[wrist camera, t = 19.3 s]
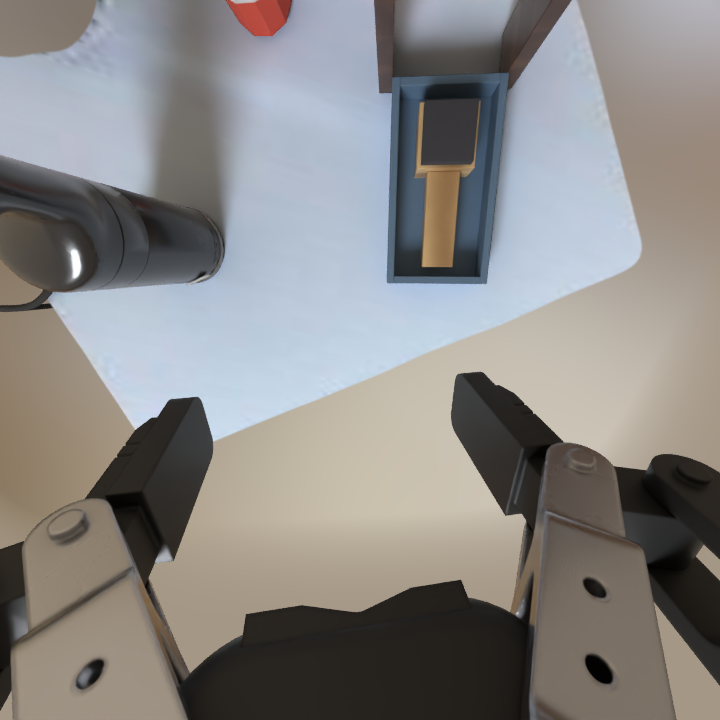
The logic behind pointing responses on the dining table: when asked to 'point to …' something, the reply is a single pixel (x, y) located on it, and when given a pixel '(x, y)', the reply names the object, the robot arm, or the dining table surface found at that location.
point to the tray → (473, 189)
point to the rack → (519, 43)
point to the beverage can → (261, 15)
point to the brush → (443, 170)
